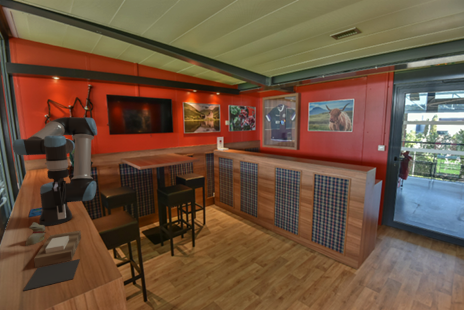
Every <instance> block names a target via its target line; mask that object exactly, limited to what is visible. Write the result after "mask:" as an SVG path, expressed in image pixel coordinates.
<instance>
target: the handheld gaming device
mask: <svg viewBox="0 0 464 310" xmlns="http://www.w3.org/2000/svg"><path fill="white" fill-rule="evenodd" d="M41 213H42V206H41V207H36V208H31V209H30V211H29V215H28V218H32V217H33V218H34V217H38V216H39V217H40V216H41Z"/></svg>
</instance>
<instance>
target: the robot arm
mask: <svg viewBox="0 0 464 310" xmlns="http://www.w3.org/2000/svg"><path fill="white" fill-rule="evenodd" d="M97 135H98V128H97V124H96V121H95V119H94V118H92V117H85V116H84V117H75V116H64V117H59V118H55V119H52V120H51V121H49V122H47V123H46V124H45V125H44V127H43V128H41V129H40V130H39V131H37V132H35V133H34V134H33V135H31V136H29V137H28V138H20V139H15V140H14V141H13V143H12V149H13V150H12V151H13V152H14V153H15V155H17V156H42V155H43V156H44V155H45V161H46V162H45V163H44V165H46V169H47V179H49V180H53V181H51V182H47V183H43V184H42V185H41V186H40V188H39V189H40V190H39V191H40V192H39V194H40V202H41V207H42V213H41V215H39V218H38V220H39V221H38V224H39V225H44V226H45V227H47V226H48V227H50V226H56V225H60V224H64V223H66V222H69V221H70V220H71V219H72V218H73V214H72V211H71V210H70V208H69V206H68V203H75V202H76V203H77V202H87V201H92V200H93V199H94V198H95V195H96V192H97V182H96V181H95V180H94V178H93V177H92V176H91V170H92V169H91V166H92V163H91V162H92V140H94V139H95V136H97ZM66 136H71V137H72V139H74V141H73V140H71V139H70V138H66ZM72 152H74V160H73V163H74V164H73V177H72V178H70V180H69V181H70V182H67V181H66V180H65V179H66V178H68V177H69V162H68V154H70V153H72Z"/></svg>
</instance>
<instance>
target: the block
mask: <svg viewBox="0 0 464 310" xmlns="http://www.w3.org/2000/svg"><path fill="white" fill-rule="evenodd" d="M68 241H69V236H64V237H58V238H52V240H51V241H50V243H49V244H48V246H47V247H46V249H45V250H46V253H50V252H55V251H61V250H64V249H65V247H66V245H67V243H68Z"/></svg>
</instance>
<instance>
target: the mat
mask: <svg viewBox="0 0 464 310" xmlns="http://www.w3.org/2000/svg"><path fill="white" fill-rule="evenodd" d="M80 260H81V259H80V258H78V259H74V260H73V259H72V260H70V261H65V262H60V263H56V264H51V265H46V266H41V267H37V268H35V271H34V273H33V274H32V275H31V277H30V279H29V280H28V282H27V284H26V285H25V287H24V289H23V290H22V291H23V292H27V291H29V290H34V289H39V288H42V287H47V286H50V285H54V284H55V285H56V284H60V283H64V282H67V281H71V280H74V278H75V274H76V273H77V269H78V266H79V264H80V262H81V261H80Z"/></svg>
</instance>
